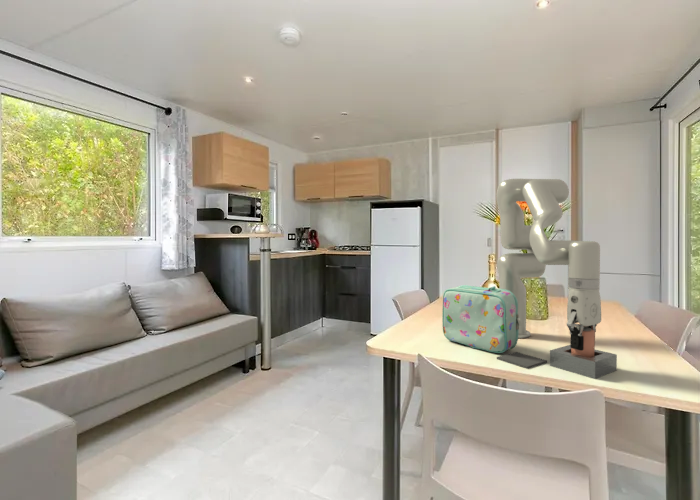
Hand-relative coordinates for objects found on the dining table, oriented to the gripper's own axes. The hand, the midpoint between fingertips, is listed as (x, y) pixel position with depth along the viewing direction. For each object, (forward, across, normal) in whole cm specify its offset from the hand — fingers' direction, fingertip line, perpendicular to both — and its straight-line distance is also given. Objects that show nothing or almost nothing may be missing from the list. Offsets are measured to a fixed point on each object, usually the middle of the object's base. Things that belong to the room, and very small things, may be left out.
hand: (582, 346), depth 104 cm
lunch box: (+6, -7, +30) cm, 31 cm away
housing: (+6, 0, 0) cm, 6 cm away
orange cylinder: (+6, 0, 0) cm, 6 cm away
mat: (+6, -9, +13) cm, 17 cm away
